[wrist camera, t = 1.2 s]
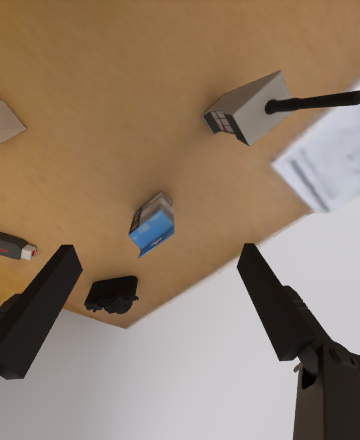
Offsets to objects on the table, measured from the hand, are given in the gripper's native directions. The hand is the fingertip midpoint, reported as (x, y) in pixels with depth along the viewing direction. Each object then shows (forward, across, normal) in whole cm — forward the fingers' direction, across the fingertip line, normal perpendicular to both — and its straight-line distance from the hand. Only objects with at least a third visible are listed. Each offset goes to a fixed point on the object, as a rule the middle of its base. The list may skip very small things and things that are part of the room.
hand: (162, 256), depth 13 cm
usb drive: (+25, -39, -19) cm, 50 cm away
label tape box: (+25, -3, -9) cm, 26 cm away
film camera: (+24, -15, -38) cm, 47 cm away
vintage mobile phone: (+25, +9, +10) cm, 29 cm away
